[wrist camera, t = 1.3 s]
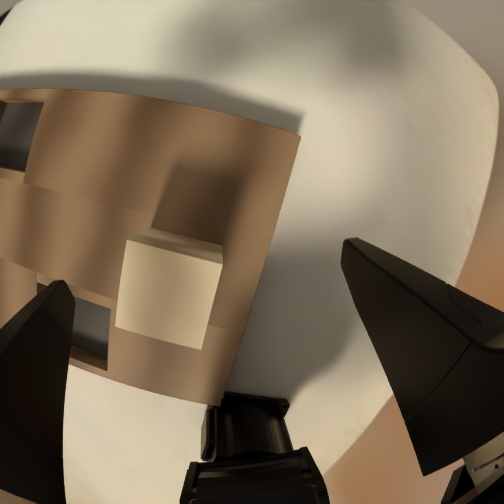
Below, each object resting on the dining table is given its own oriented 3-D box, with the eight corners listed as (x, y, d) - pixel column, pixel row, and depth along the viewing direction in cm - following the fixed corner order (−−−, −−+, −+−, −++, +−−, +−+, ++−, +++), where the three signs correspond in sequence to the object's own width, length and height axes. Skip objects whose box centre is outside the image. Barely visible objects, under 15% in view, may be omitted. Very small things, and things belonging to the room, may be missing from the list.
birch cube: (222, 245, 17) (222, 264, 12) (205, 313, 18) (201, 349, 13) (150, 227, 16) (127, 239, 12) (137, 295, 17) (115, 326, 13)
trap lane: (293, 141, 18) (311, 129, 14) (219, 391, 21) (220, 424, 17) (-27, 98, 13) (-51, 91, 9) (-49, 284, 16) (-71, 295, 12)
